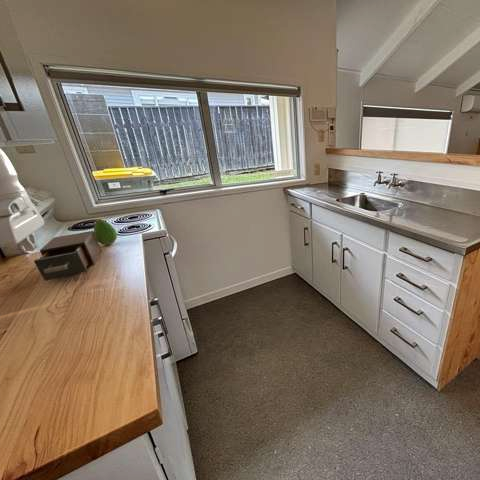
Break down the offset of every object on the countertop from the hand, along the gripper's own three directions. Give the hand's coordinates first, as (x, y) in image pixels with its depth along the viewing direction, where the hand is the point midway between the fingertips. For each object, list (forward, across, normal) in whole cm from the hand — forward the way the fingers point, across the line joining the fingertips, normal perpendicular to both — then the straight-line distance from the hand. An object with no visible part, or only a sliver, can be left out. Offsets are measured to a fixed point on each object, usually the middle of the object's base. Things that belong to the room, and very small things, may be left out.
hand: (32, 249), depth 76 cm
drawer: (+15, -16, 0) cm, 22 cm away
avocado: (+16, -42, +8) cm, 45 cm away
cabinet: (+16, -27, 0) cm, 31 cm away
